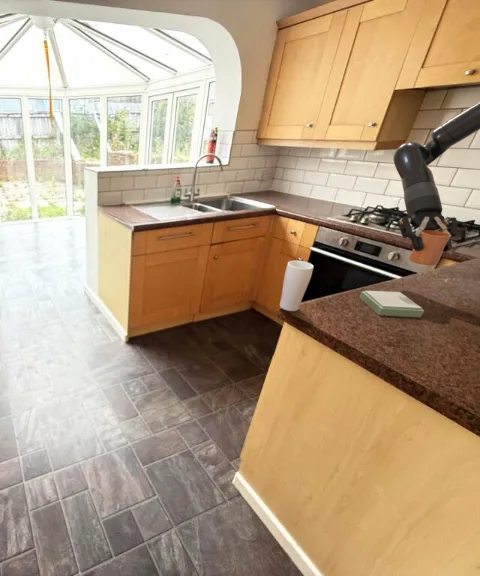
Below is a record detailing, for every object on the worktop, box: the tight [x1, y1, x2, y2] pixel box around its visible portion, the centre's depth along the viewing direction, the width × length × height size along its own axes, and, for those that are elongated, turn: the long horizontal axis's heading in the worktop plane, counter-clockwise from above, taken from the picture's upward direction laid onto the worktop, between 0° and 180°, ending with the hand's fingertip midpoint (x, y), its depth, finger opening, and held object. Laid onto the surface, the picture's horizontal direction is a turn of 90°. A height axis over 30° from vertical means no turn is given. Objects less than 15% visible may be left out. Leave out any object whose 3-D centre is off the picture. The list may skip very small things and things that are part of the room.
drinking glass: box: [279, 260, 314, 312], centre depth 98 cm, size 7×7×15 cm
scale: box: [358, 290, 425, 318], centre depth 100 cm, size 11×11×3 cm
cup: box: [408, 230, 451, 266], centre depth 96 cm, size 6×6×9 cm
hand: (432, 250), depth 94 cm, fingers closed on cup, 6 cm apart
